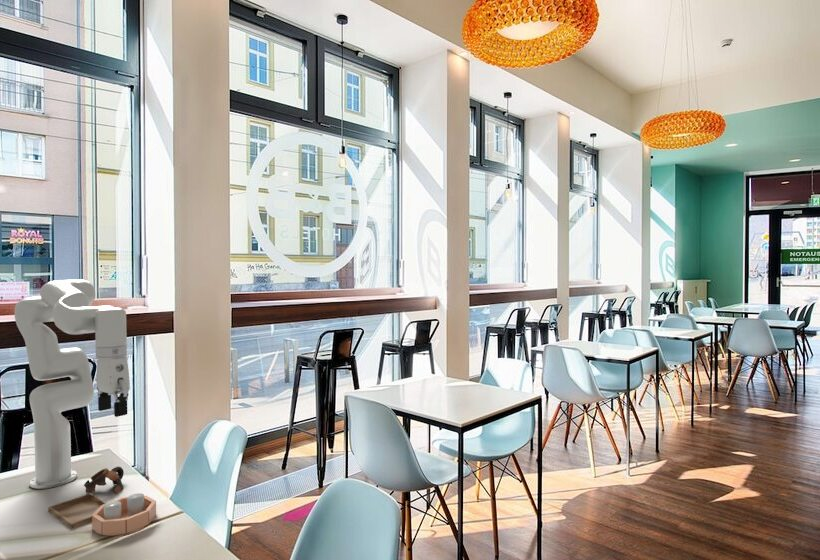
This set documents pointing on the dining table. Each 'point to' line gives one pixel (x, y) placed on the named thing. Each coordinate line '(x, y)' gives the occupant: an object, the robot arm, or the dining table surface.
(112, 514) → the stone
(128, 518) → the bowl
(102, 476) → the brown piece
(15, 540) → the dining table surface
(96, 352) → the robot arm
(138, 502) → the stone
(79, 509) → the tray
